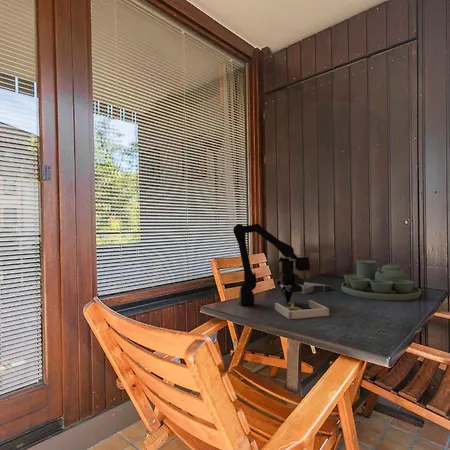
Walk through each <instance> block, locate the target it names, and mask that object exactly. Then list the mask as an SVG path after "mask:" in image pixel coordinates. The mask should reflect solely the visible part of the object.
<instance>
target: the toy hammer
mask: <svg viewBox="0 0 450 450" xmlns="http://www.w3.org/2000/svg"><path fill="white" fill-rule="evenodd" d="M298 285H300V284H298ZM274 286H275V287H276V285H274ZM300 286H301V287H302V292H293V293H292V294H298V295H306V294H310V293H313V292H327V291H328V290H329V289H331V288H332V285H327V284H321V283H313V282H306V281H305V282H304V285H303V286H302V285H300ZM277 287H281V285H278V286H277Z"/></svg>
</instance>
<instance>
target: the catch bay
mask: <svg viewBox="0 0 450 450" xmlns="http://www.w3.org/2000/svg"><path fill="white" fill-rule="evenodd" d="M308 307H309V308H310V309H301V310H288V309H287V308H286V307H285V306H283V305H281V304H280V303H278V302H275V303H274V310H275V311H277V312H278V313H279V314H281V315H282V316H283V317H286V318H287V319H288V320H295V319H307V318H316V317H317V318H318V317H319V318H320V317H329V316H330V308H329V307H327V306H324V305H322V304H320V303H318V302H316V301H314V300H312V299H310V300H308Z"/></svg>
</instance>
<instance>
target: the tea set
mask: <svg viewBox="0 0 450 450" xmlns="http://www.w3.org/2000/svg"><path fill="white" fill-rule="evenodd" d="M355 262H356V274H355V273H354V274H351V273H350V274H344V275H343V277H344V281H345V282H342V284H341V288H340V289H341V292H343V293H345V294H347V295H349V296H352V297H357V298H362V299H367V300H377V301H378V300H379V301H389V302H390V301H391V302H393V301H394V302H395V301H397V302H402V301H403V302H404V301H405V302H406V301H412V300H417V299H419V298H420V296H421V294H422V289H421V288H419V287H417V286H415V281H412V280H410V274H409V271H408V270H407V269H406V268H402V267H401V266H400V265H396V264H394V263H392V262H391V263H389V264H384V265H382V266H381V268H380V267H378V268H377V271H376V264H377V261H376V260H366V259H359V260H358V259H357V260H355Z"/></svg>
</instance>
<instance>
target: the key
mask: <svg viewBox="0 0 450 450" xmlns="http://www.w3.org/2000/svg"><path fill="white" fill-rule="evenodd" d="M288 304H289V305H291V306H288V307H285V308H287V309H288V310H290V311H296V310H302V308H300V307H296V306H295V303H294V301H290V302H288V303H287V305H288Z"/></svg>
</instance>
